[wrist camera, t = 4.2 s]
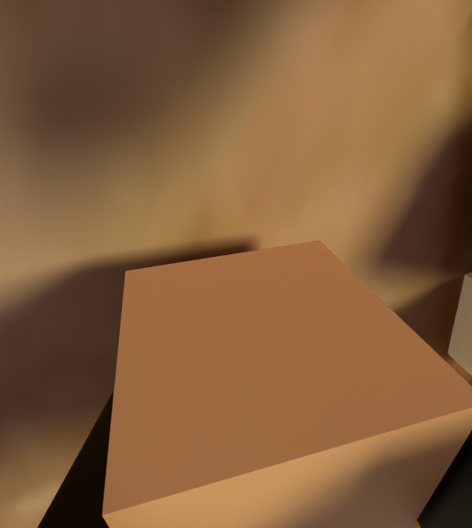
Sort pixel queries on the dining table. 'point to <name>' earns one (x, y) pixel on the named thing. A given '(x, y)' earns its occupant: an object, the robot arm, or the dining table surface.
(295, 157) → the dining table surface
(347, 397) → the terracotta cube
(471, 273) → the cream cube
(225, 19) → the dining table surface
